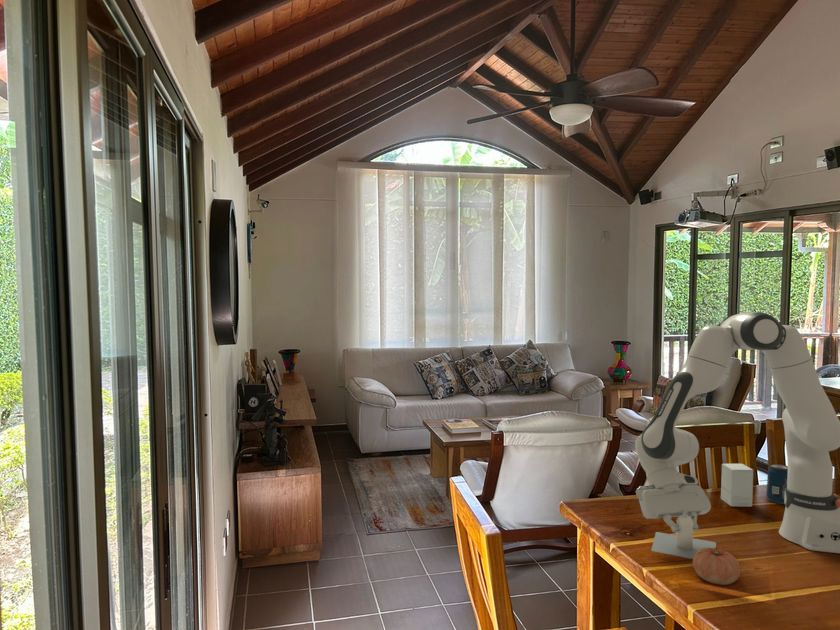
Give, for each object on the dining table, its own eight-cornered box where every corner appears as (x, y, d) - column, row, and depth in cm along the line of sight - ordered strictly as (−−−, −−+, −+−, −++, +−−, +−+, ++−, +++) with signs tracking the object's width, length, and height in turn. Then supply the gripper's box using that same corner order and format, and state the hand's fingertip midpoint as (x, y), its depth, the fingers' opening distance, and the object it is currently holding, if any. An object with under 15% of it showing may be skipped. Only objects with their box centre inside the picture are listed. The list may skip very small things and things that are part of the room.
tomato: (686, 569, 158) (687, 539, 157) (729, 571, 157) (730, 541, 156) (701, 590, 147) (702, 559, 146) (747, 593, 146) (748, 561, 145)
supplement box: (752, 507, 201) (754, 469, 200) (730, 506, 201) (731, 469, 200) (741, 498, 208) (742, 463, 207) (720, 498, 208) (721, 462, 208)
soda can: (770, 495, 212) (771, 461, 211) (792, 500, 207) (794, 466, 206) (763, 500, 207) (764, 465, 206) (786, 505, 202) (787, 470, 201)
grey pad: (715, 545, 172) (715, 542, 171) (715, 566, 159) (715, 563, 159) (655, 535, 179) (655, 531, 179) (651, 554, 166) (651, 550, 166)
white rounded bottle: (692, 544, 170) (694, 511, 169) (692, 551, 166) (693, 516, 165) (676, 541, 172) (677, 508, 171) (675, 548, 168) (676, 513, 167)
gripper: (638, 481, 172) (657, 529, 163) (701, 477, 176) (723, 522, 168) (629, 491, 177) (647, 538, 168) (691, 486, 181) (712, 531, 172)
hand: (686, 530), depth 168 cm, fingers closed on white rounded bottle, 4 cm apart
